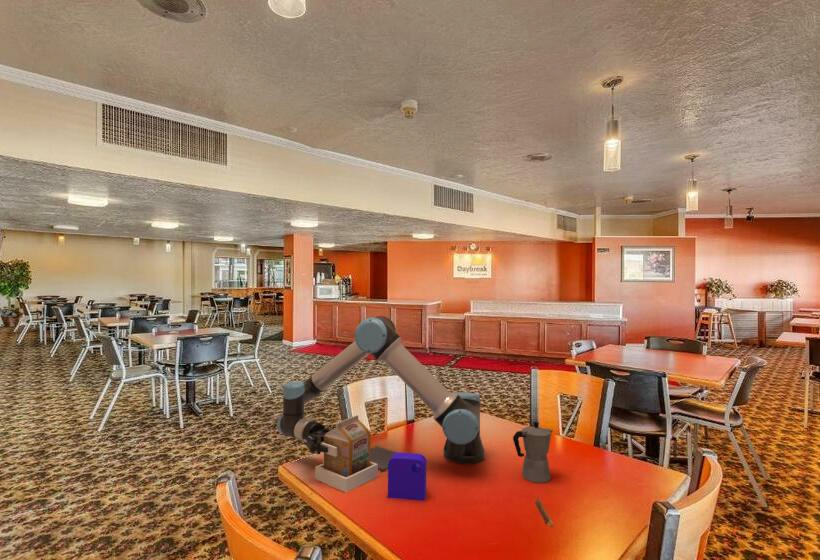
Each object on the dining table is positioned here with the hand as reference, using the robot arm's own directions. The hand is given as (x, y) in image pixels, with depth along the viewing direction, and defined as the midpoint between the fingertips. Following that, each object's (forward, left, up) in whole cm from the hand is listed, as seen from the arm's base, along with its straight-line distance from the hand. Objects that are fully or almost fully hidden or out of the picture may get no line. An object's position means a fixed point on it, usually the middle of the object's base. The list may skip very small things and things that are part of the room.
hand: (352, 445), depth 135 cm
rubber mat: (+4, -18, -11) cm, 22 cm away
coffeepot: (-45, -39, -11) cm, 60 cm away
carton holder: (+2, 0, -11) cm, 11 cm away
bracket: (-17, -9, -11) cm, 22 cm away
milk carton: (+2, 0, -11) cm, 11 cm away
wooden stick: (-56, -19, -12) cm, 60 cm away
